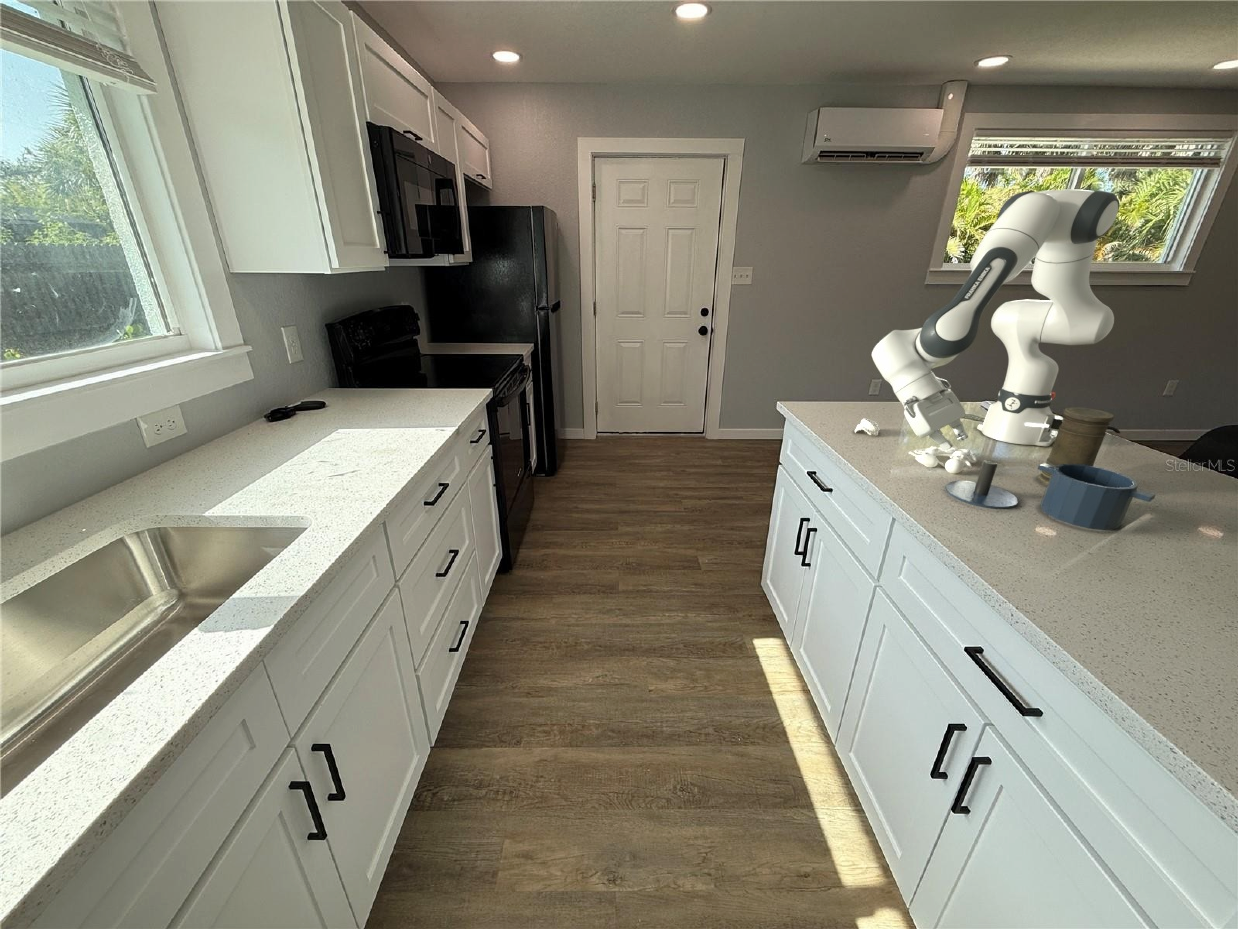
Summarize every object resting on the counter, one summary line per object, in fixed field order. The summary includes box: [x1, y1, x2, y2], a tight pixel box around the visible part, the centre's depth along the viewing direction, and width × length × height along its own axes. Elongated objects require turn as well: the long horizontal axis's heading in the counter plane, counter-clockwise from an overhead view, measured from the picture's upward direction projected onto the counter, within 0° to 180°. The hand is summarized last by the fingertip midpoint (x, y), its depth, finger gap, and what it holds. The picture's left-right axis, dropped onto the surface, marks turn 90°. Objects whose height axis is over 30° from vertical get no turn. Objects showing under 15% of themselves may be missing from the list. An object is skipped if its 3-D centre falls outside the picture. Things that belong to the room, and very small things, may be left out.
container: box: [1037, 407, 1115, 485], centre depth 113 cm, size 9×9×18 cm
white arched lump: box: [854, 417, 880, 436], centre depth 151 cm, size 8×7×5 cm
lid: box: [945, 459, 1019, 510], centre depth 109 cm, size 13×13×9 cm
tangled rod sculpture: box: [908, 445, 977, 475], centre depth 129 cm, size 19×14×4 cm
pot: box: [1037, 462, 1156, 531], centre depth 100 cm, size 12×18×10 cm
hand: (956, 444), depth 112 cm, fingers open, 8 cm apart
